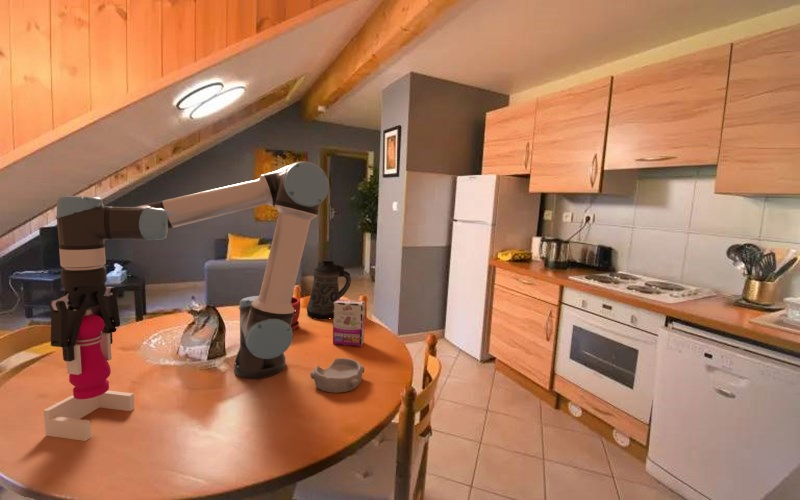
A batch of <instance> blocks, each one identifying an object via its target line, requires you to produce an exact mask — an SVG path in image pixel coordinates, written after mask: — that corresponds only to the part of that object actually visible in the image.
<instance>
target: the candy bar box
mask: <svg viewBox="0 0 800 500" xmlns="http://www.w3.org/2000/svg"><path fill="white" fill-rule="evenodd" d="M365 310H366V301H363V300H353V299H350V300H349V299H340V300H336V301H335V302H334V304H333V319H332V321H333V322H332V323H333V324H332V345H334V346H335V345H336V346H337V345H338V346H348V347H359V348H361V347H362V346H363V344H364V343H365V319H366V318H365V317H366V316H365V315H366V314H365V313H366V311H365Z"/></svg>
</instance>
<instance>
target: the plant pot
mask: <svg viewBox="0 0 800 500" xmlns="http://www.w3.org/2000/svg"><path fill="white" fill-rule="evenodd" d="M291 305H292V306H293V308H294V309H295V311H294V315H293V319H292V323H291V328H292V331H293V330H295V329H296V328H298V326H299V324H300V323H299V321H298V320H299V317H300V315H301V313H300V312H301V300H300V299H299V298H298V297H296V296H292V300H291Z"/></svg>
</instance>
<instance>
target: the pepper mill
mask: <svg viewBox="0 0 800 500" xmlns="http://www.w3.org/2000/svg"><path fill="white" fill-rule="evenodd" d="M104 327H105V324H104V320H103V319H102V318H101V317H100V316H98V315H94V314H93V313H92V311H91V309H90V308H88V309H87V310H86V313H85V314H84V315H83V317H82V321H81V325H80V329H79V333H78V337H77V341H76V345H80V355H81V370H82V373H81V374H79V375H76V374H69V375H68V379H69V380H68V381H69V383H70V385H72V386H74V387H73V388H72V395H73V397H74V398H76V399H89V398H94V397H97V396H100V395H102V394H104V393H105V392H107V391H109V389H110V384H109V383H110V382H109V380H108V378H109V377H110V375H111V373H112V369H111V365H110V363H109V361H108V360H106V359H105V357H104V356H103V354H102V351H101V347H100V342H101V341H102V340H103V338H102V334H101V332H102V331H103V329H104Z"/></svg>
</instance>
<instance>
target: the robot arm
mask: <svg viewBox="0 0 800 500" xmlns="http://www.w3.org/2000/svg"><path fill="white" fill-rule="evenodd" d="M329 188H330V182H329V179H328V177H327V175H326V172H325V171H324V169H322V168H321V166H319V165H317V164H315V163H314V162H310V161H304V160H298V161H295V162H293V163H291V164H289V165H288V164H287V165H285V166H283V167H281V168H279V169H277V170H274V171H272V172H267V173H263V174H260V176H259V178H257V179H254V180H248V181H244V182H240V183H235V184H231V185H226V186H222V187H218V188H212V189H208V190H204V191H199V192H196V193H192V194H187V195H182V196H178V197H174V198H168V199H164V200H160V201H156V202H151V203H147V204H146V203H145V204H140V205H137V206H109V205H104V203H103V199H102V197H98V196H83V195H80V196H79V195H61V196H59V197H58V198H57V200H56V216H55V220H56V224H57V236H58V250H59V263H60V267H61V270H60V279H61V280H60V281H61V285H62V287H63V288H64V292H63V295H62V296H61V297H60V298H58V299H56V300H55V299H51V300H49V301H48V303H47V304H48V308H49V309H50V311H51V313H50V314H51V315H50V316H51V317H50V346H51V347H57V348H61V351H62V360H63V361H64V362H66V374H76V375H79V374H81V373H82V370H81V355H80V345H76V341H77V337H78V333H79V329H80V325H81V321H82V317H83V315H84V314H85V313H86V310H87V309H90V310H91V311H92V313H91V314H94V315H98V316H100V317H101V318H102V319H103V320H104V324H105V327H104V329H103V331H102V332H101V334H102V338H103V340H102V341H101V342H100V347H101V351H102V354H103V356H104V357H105V359H106V360H107V362H109V361H111V360H112V346H111V345H113V333H116V332H117V331H118V329H117V328H119V327H120V326H121V320H120V319H121V317H120V311H119V306H118V298H117V297H118V290H119V289H118V287H114V286H106V284H105V283H106V282H107V281H108V278H107V277H108V276H107V267H106V266H105V265H106V264H107V258H106V243H105V241H113V240H118V241H121V240H122V241H126V240H127V241H149V242H151V241H157V240H158V241H159V240H161V241H162V240H165V239H167V237H168V233H169V230H171V229H174V228H177V227H182V226H185V225H186V226H187V225H190V224H193V223H198V222H201V221H205V220H209V219H214V218H217V217H221V216H226V215H229V214H234V213H236V212H240V211H245V210H249V209H253V208H257V207H260V206H265V205H268V206H270V207H275V209H276V210H277V212H278V217H277V219H276V225H275V229H274V233H273V236H272V241H271V246H270V249H269V254H268V258H267V262H266V266H265V270H264V275H263V279H262V283H261V286H260V287H261V288H260V292H259V295H252V296H247V297H244V298H241V300H240V301H239V307H238V310H239V343H240V344H239V349H238V352H237V355H236V357H235V360H234V364H233V365H234V366H233V368H234V369H233V371H234V374H235V375H236V376H238V377H240V378H245V379H254V380H255V379H262V378H268V377H271V376H275V375H277V374H279V373H280V372H281V371H283V370H284V369H285V367H286V356H285V353H286V351H288V349H289V348H290V346H291V344H292V342H293V338H294V337H293V334H294V333H293V330H292V328H291V323H292V319H293V315H294V311H295V312H296V310H295V309H294V308H293V306H292V305H291V304H292V303H291V300H292V297H294V295H293V294H294V290H295V286H296V282H297V278H298V273H299V270H300V266H301V262H302V258H303V253H304V249H305V246H306V245H305V244H306V241H307V236H308V234H309V228H310V224H311V221H312V220H313V219H316V218H317V217H318V215H319V211H320V207H321V203H322V202H323V201H325V199H326V198H327V196H328V193H329Z"/></svg>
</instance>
